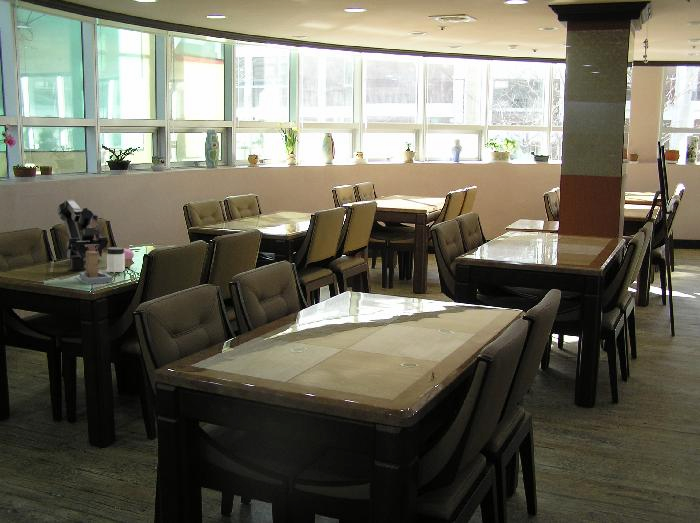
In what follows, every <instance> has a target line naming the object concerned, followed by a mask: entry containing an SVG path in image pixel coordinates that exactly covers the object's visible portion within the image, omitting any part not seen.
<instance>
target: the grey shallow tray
mask: <svg viewBox="0 0 700 523" xmlns="http://www.w3.org/2000/svg"><path fill="white" fill-rule="evenodd" d="M75 279H77V280H78V281H80V282H81V283H84V284H85V285H94V283H96V284H106V282H109V283H115V281H114V280H113V276H112V275H110V274H108V273H107V272H105V273H103V272H102V271H99V270H98V277H97V278H88V277H87V275H86V271H82V272H80V271H79V276H75Z"/></svg>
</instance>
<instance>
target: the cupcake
mask: <svg viewBox="0 0 700 523" xmlns="http://www.w3.org/2000/svg"><path fill="white" fill-rule="evenodd" d="M124 253H125V267H129V268H130V267H131V266H132V259H133V258H134V257H135V254H134V252H133V251H132V250H131V249H129V248H128V249H127V248H124Z"/></svg>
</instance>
